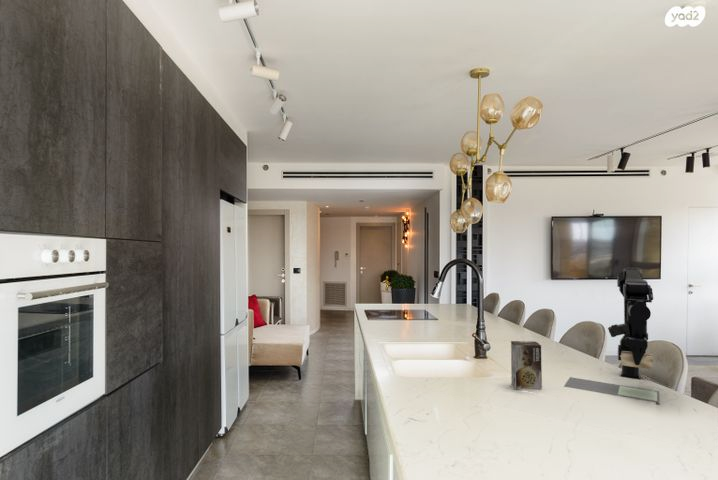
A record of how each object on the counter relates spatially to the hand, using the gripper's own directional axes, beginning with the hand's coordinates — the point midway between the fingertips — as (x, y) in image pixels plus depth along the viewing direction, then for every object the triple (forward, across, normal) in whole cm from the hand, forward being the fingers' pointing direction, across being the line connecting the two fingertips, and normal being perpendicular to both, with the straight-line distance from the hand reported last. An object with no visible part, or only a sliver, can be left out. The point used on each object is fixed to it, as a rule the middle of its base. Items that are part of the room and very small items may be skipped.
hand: (637, 363), depth 145 cm
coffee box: (+11, +15, -33) cm, 38 cm away
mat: (+11, 0, -8) cm, 13 cm away
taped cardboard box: (+1, 0, 0) cm, 1 cm away
